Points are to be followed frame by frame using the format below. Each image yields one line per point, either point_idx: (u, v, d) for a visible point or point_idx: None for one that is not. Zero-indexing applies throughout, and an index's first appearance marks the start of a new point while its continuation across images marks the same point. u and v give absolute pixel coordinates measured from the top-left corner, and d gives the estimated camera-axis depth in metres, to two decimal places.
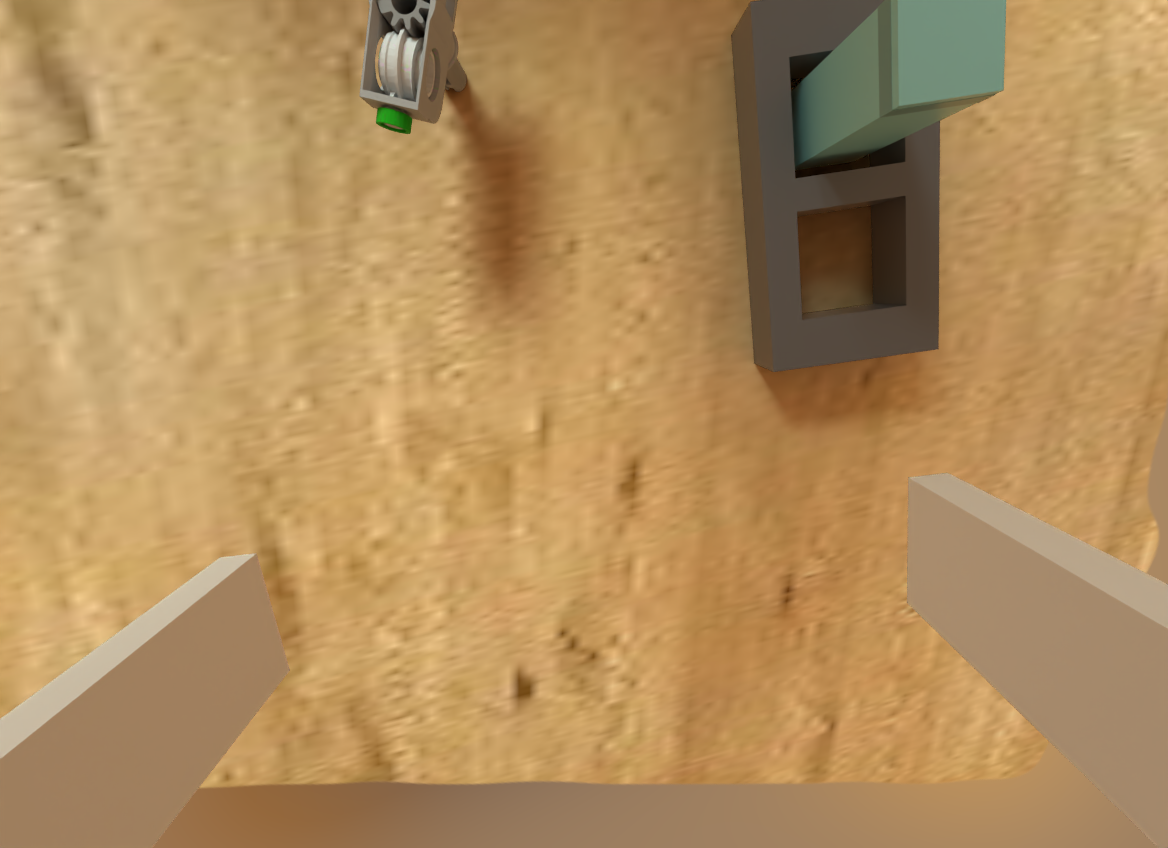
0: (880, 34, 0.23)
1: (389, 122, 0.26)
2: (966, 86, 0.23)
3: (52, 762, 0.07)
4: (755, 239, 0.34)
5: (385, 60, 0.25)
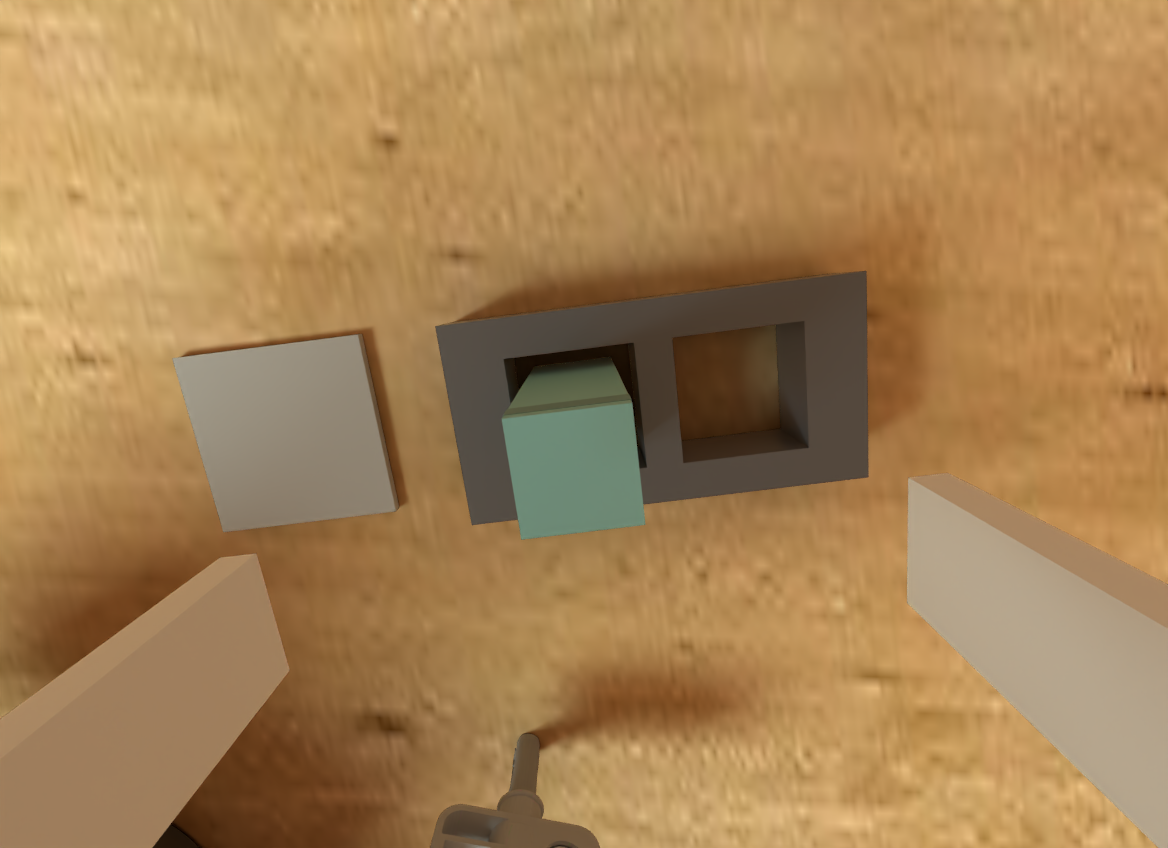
0: None
1: None
2: (626, 448, 0.18)
3: (52, 762, 0.07)
4: None
5: None
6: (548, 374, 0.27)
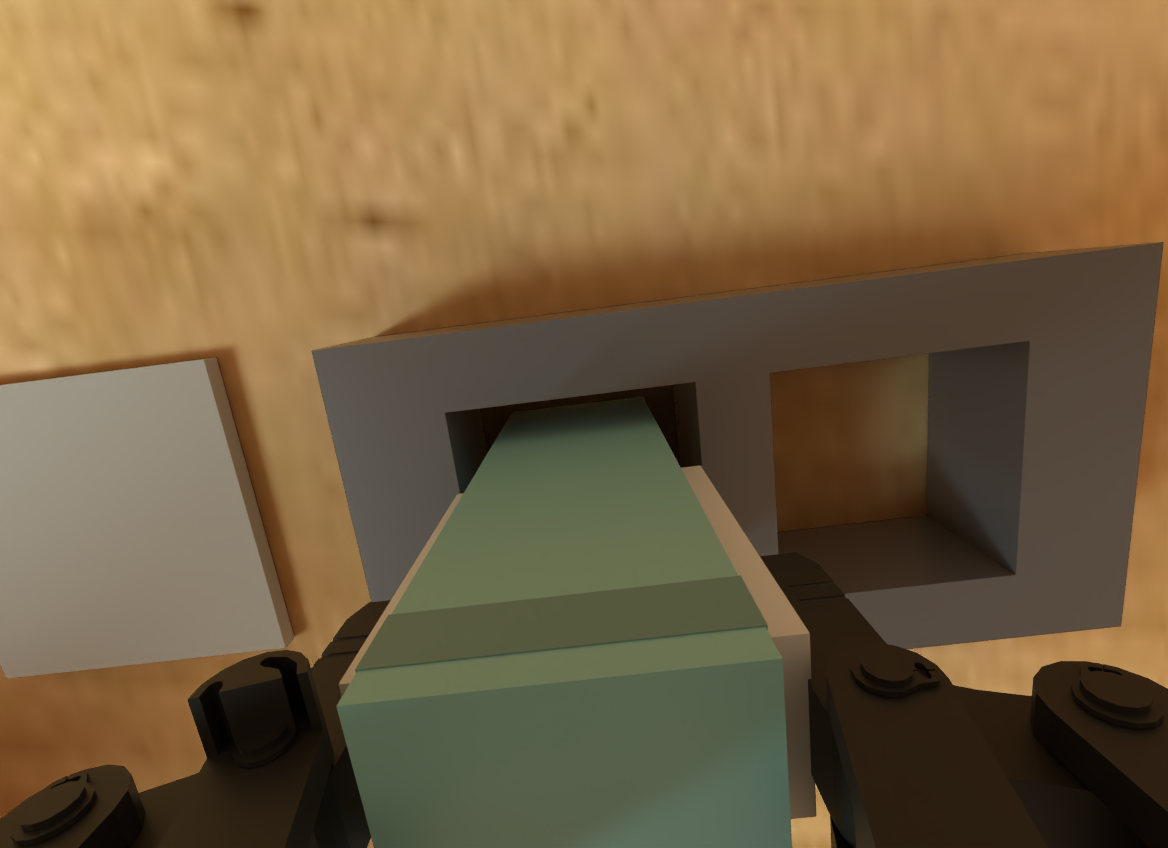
0: None
1: None
2: (753, 791, 0.06)
3: None
4: None
5: None
6: (531, 441, 0.14)
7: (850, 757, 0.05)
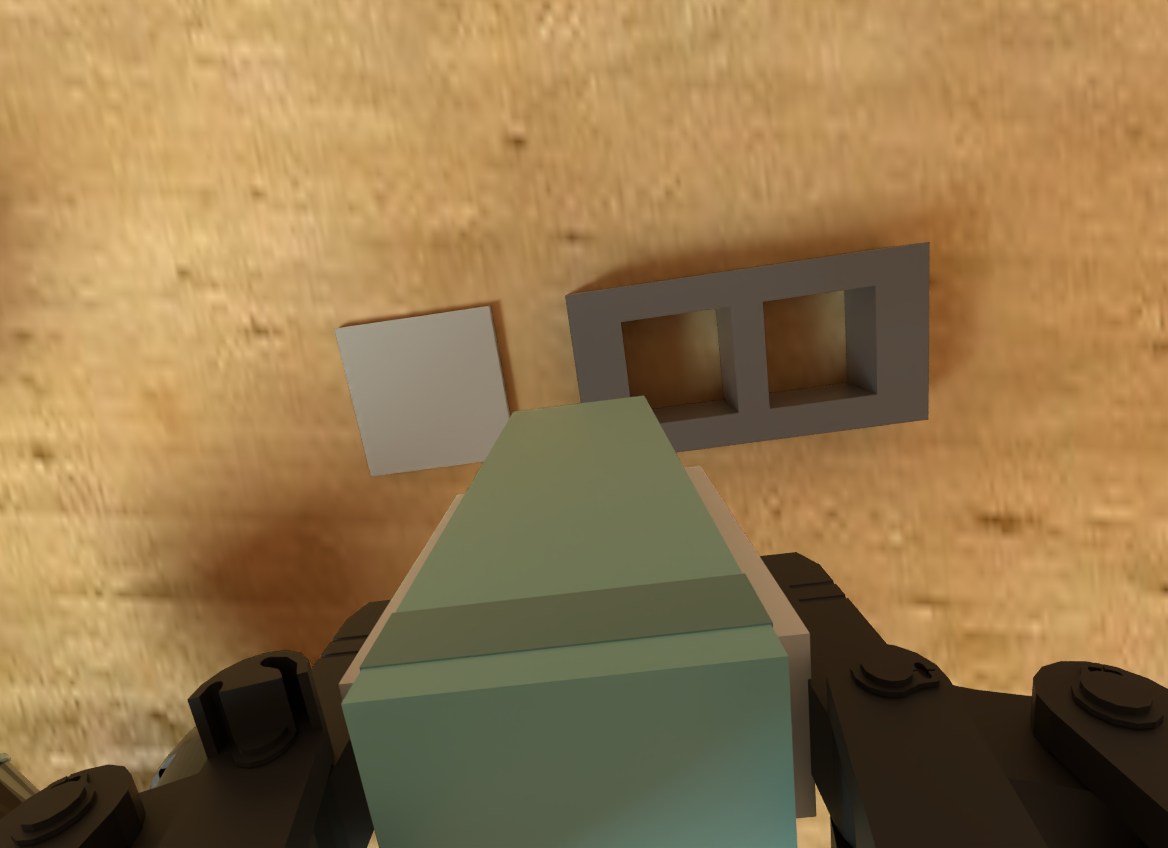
0: None
1: None
2: (759, 789, 0.06)
3: None
4: None
5: None
6: (533, 440, 0.14)
7: (850, 757, 0.05)
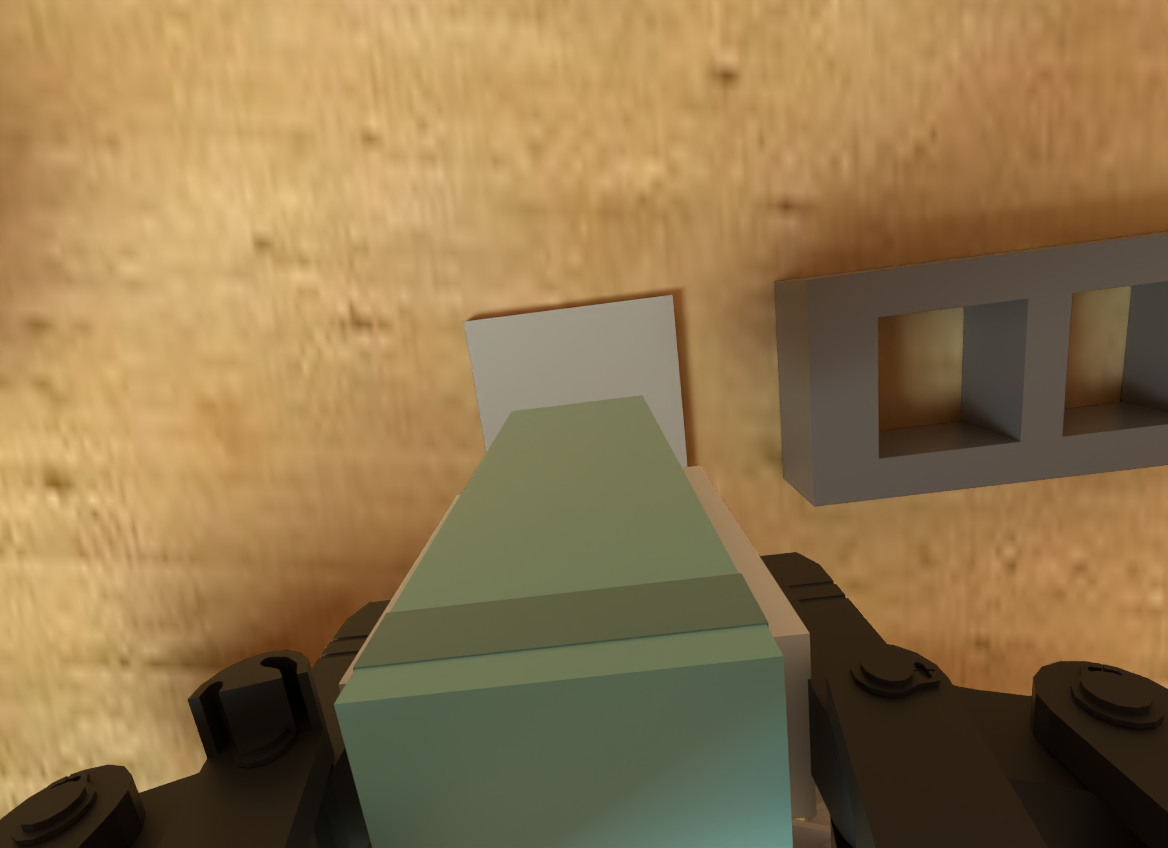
0: None
1: None
2: (754, 790, 0.05)
3: None
4: None
5: None
6: (531, 439, 0.14)
7: (850, 757, 0.05)
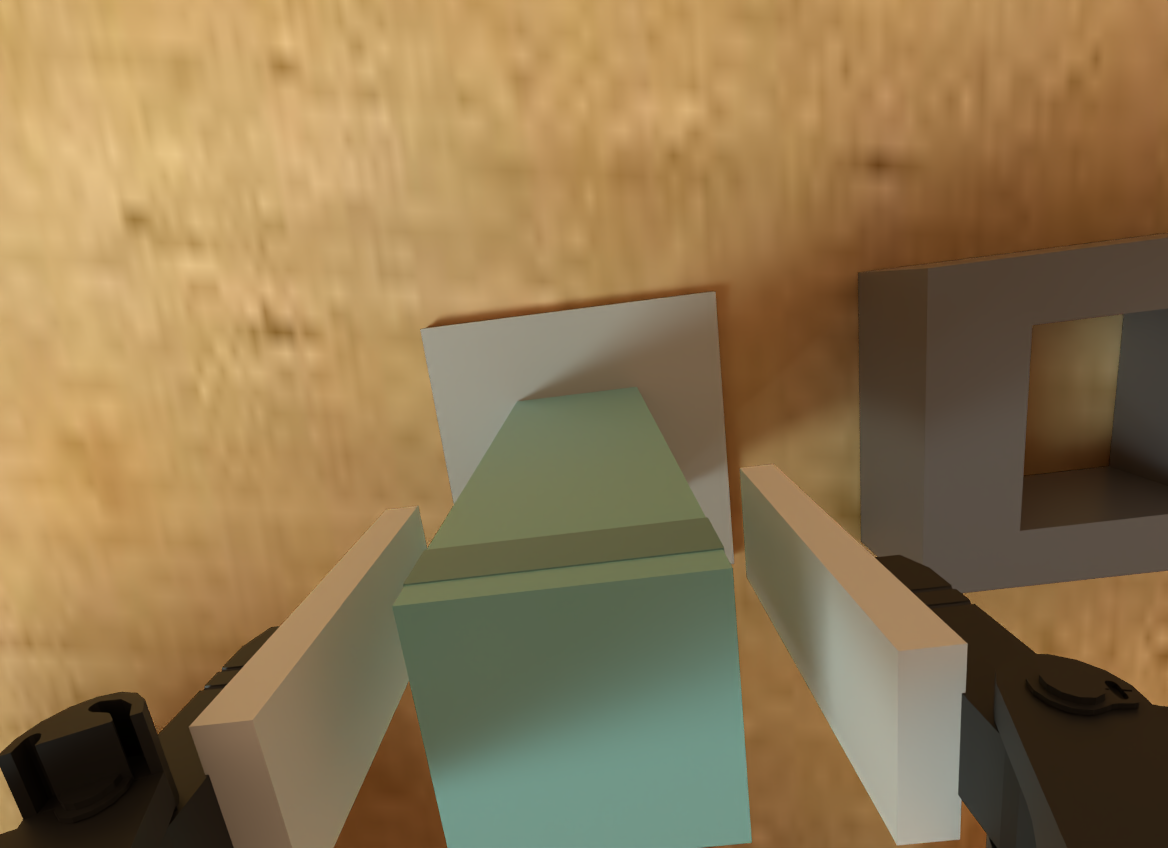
0: None
1: None
2: (713, 675, 0.07)
3: (336, 651, 0.08)
4: None
5: None
6: (535, 424, 0.16)
7: (1034, 772, 0.05)
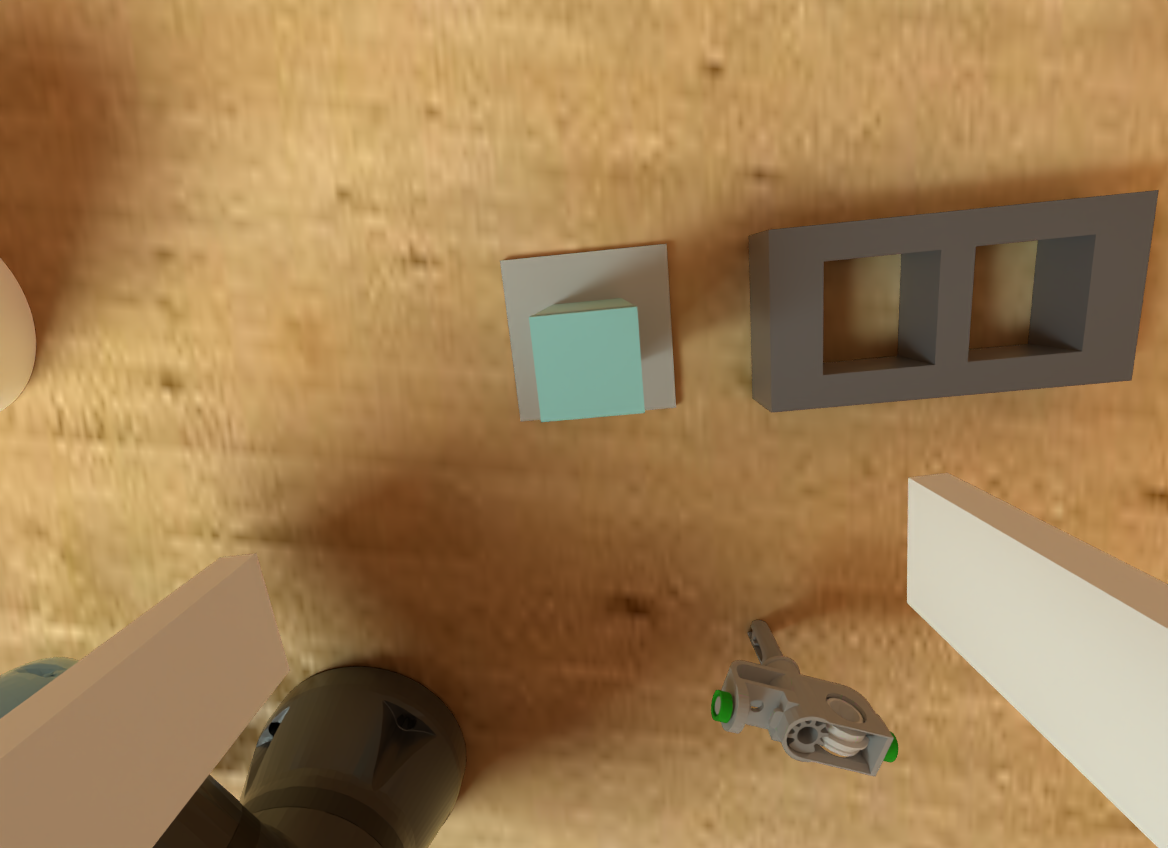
0: None
1: (895, 756, 0.31)
2: (631, 346, 0.22)
3: (52, 762, 0.07)
4: None
5: (848, 753, 0.31)
6: (565, 305, 0.30)
7: None
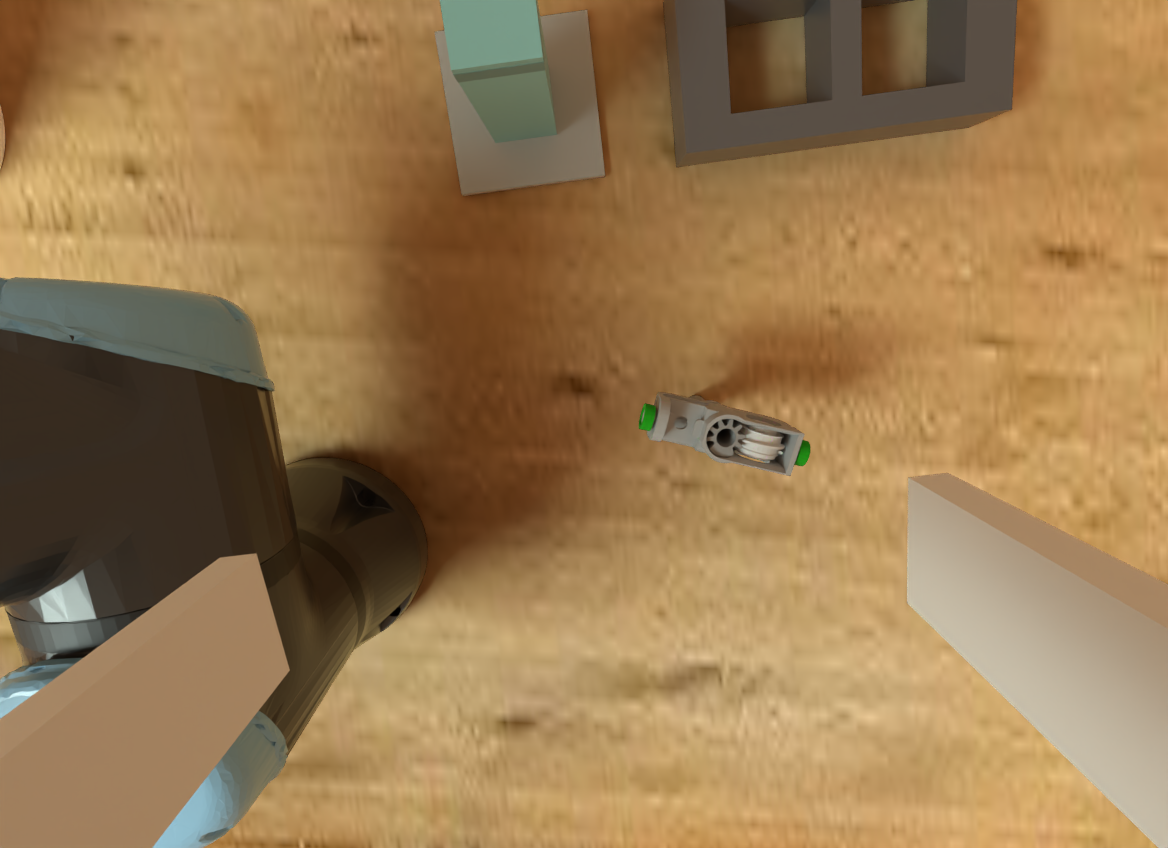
0: (479, 77, 0.27)
1: (808, 456, 0.34)
2: None
3: (52, 762, 0.07)
4: (866, 134, 0.36)
5: (765, 454, 0.34)
6: None
7: None
